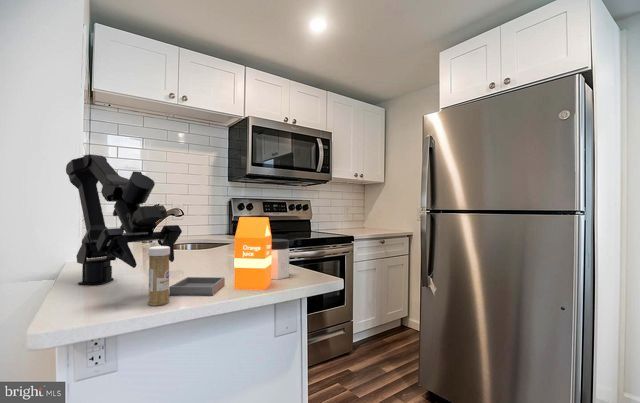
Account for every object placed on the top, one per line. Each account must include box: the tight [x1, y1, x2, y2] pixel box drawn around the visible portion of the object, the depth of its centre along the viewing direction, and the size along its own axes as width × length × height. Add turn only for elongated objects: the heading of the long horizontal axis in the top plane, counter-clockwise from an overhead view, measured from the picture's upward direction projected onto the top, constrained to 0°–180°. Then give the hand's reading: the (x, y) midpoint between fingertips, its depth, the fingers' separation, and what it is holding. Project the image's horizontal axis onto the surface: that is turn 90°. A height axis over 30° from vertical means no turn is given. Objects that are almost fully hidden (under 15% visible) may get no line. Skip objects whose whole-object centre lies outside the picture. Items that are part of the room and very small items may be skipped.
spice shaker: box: [147, 245, 170, 307], centre depth 76 cm, size 5×5×14 cm
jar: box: [271, 238, 290, 280], centre depth 105 cm, size 9×8×12 cm
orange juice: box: [233, 216, 272, 291], centre depth 93 cm, size 8×9×20 cm
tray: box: [169, 276, 226, 297], centre depth 88 cm, size 11×11×2 cm
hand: (154, 263), depth 77 cm, fingers open, 9 cm apart
